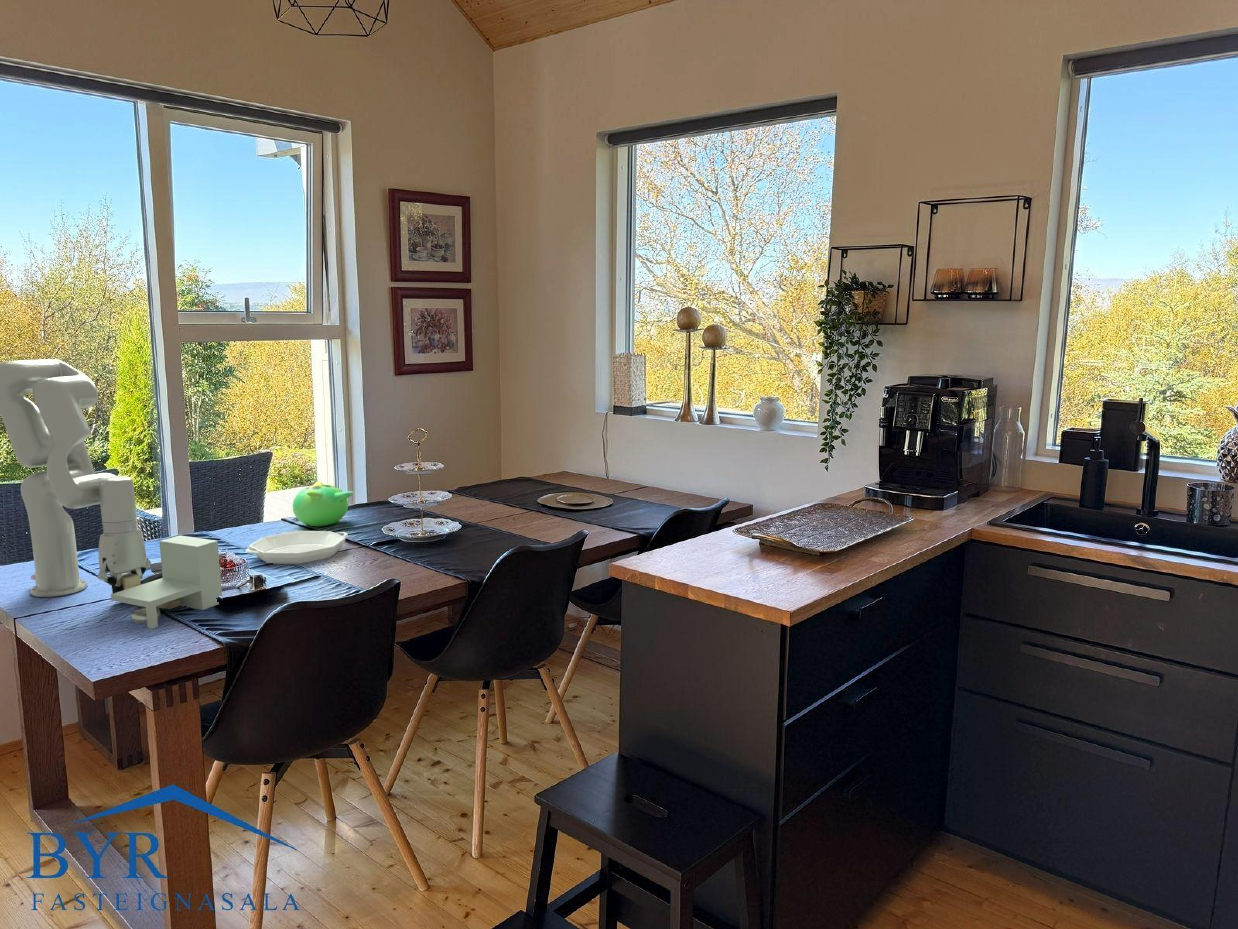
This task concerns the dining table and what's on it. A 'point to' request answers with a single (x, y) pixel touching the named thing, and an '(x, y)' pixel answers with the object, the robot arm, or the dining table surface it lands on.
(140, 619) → the steel token
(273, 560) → the pan
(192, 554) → the pale green shelf block
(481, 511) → the dining table surface
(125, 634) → the dining table surface
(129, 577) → the wooden mallet tool
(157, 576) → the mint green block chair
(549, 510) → the dining table surface
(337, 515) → the green teapot
